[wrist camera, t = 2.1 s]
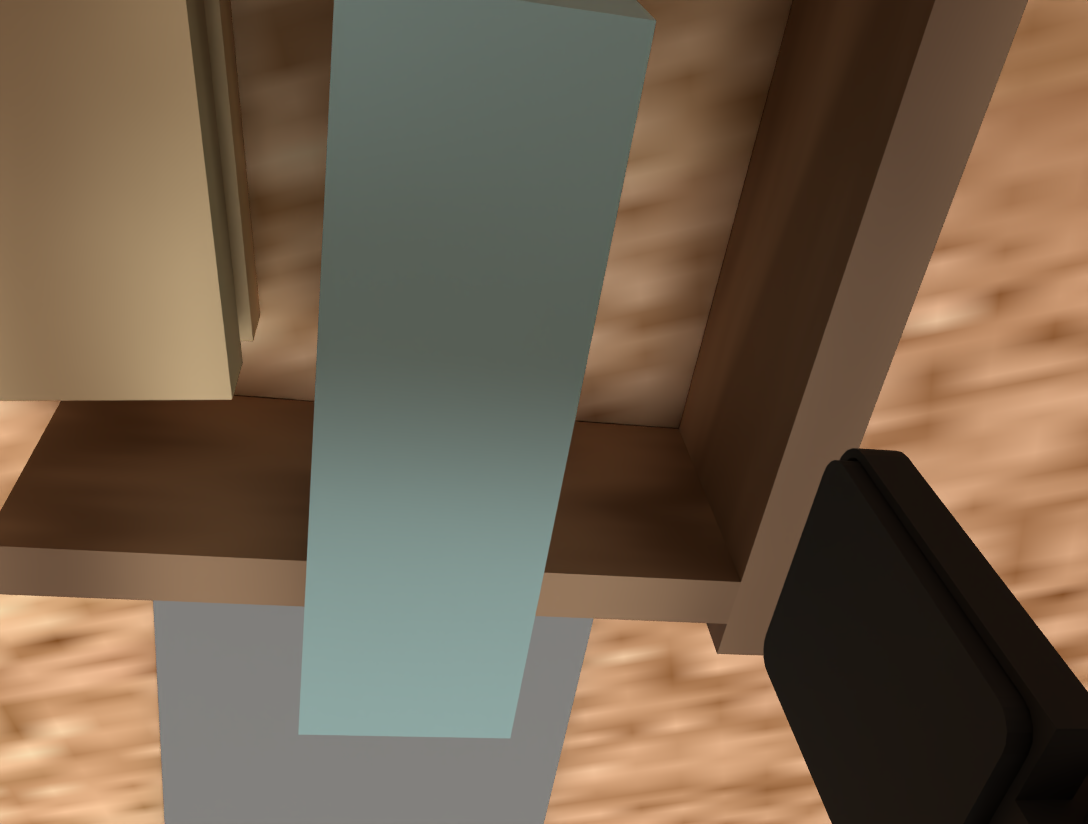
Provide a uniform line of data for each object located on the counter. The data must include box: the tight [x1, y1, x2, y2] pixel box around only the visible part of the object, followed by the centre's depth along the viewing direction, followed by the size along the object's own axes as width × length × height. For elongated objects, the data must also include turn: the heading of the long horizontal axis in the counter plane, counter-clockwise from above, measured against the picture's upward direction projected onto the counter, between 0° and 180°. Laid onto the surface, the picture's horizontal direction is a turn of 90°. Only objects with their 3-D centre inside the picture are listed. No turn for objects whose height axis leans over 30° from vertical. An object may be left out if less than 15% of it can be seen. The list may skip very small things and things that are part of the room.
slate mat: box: [153, 600, 593, 824], centre depth 31 cm, size 12×13×1 cm
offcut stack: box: [0, 0, 260, 401], centre depth 19 cm, size 5×10×4 cm, turn 176°
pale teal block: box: [298, 0, 656, 738], centre depth 17 cm, size 3×10×12 cm, turn 171°
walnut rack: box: [0, 0, 1028, 655], centre depth 20 cm, size 16×18×6 cm
